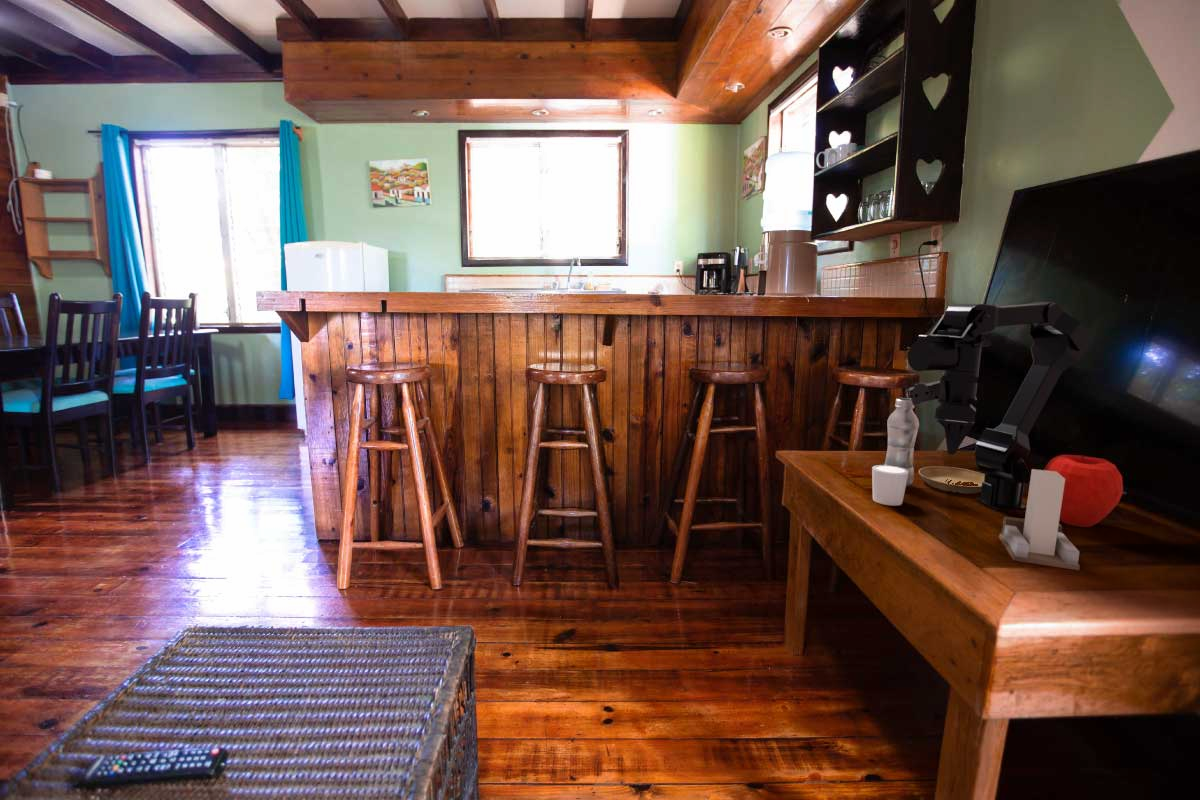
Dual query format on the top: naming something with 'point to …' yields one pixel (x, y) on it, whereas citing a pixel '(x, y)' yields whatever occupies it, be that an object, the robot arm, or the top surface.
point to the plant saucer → (952, 478)
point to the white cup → (889, 484)
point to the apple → (1087, 488)
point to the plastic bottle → (902, 437)
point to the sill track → (1019, 548)
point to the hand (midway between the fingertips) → (952, 449)
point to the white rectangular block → (1043, 511)
